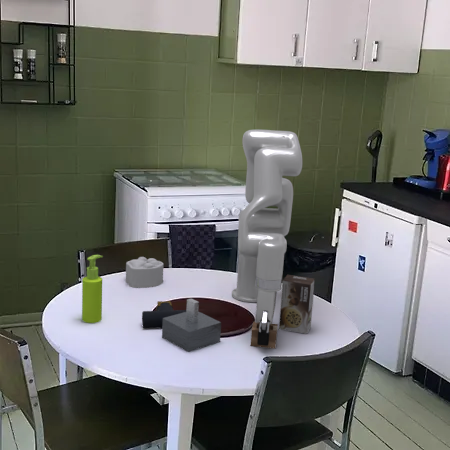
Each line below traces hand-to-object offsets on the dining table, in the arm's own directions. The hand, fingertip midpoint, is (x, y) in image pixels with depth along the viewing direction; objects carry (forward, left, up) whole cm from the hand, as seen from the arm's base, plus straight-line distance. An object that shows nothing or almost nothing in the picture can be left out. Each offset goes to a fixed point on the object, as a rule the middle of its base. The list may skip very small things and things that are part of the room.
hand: (263, 338), depth 191 cm
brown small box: (0, 0, -2) cm, 2 cm away
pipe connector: (+14, -29, -2) cm, 32 cm away
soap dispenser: (+31, -43, -2) cm, 53 cm away
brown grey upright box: (-16, -2, -2) cm, 16 cm away
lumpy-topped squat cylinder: (-2, -61, -2) cm, 61 cm away
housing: (+16, -14, -2) cm, 21 cm away
